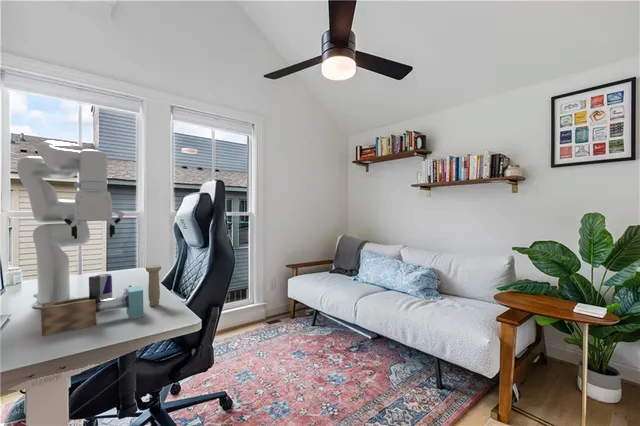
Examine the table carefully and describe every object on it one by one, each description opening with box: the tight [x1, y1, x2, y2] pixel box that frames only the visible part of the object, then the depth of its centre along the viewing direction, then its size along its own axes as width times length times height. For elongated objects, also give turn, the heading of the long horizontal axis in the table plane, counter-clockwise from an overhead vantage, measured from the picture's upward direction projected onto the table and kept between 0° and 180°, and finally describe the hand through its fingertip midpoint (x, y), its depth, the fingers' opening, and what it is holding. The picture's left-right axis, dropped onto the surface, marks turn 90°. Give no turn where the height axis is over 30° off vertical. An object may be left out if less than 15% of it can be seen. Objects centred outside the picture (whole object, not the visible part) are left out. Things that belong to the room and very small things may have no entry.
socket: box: [125, 285, 145, 320], centre depth 105 cm, size 4×8×9 cm, turn 40°
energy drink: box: [96, 273, 113, 300], centre depth 114 cm, size 5×5×12 cm
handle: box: [145, 264, 162, 307], centre depth 115 cm, size 5×6×15 cm
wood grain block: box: [40, 296, 97, 337], centre depth 94 cm, size 13×6×8 cm, turn 129°
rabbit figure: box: [121, 284, 134, 296], centre depth 127 cm, size 6×6×15 cm
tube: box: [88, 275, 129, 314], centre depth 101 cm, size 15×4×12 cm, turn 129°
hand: (93, 237), depth 102 cm, fingers open, 9 cm apart
